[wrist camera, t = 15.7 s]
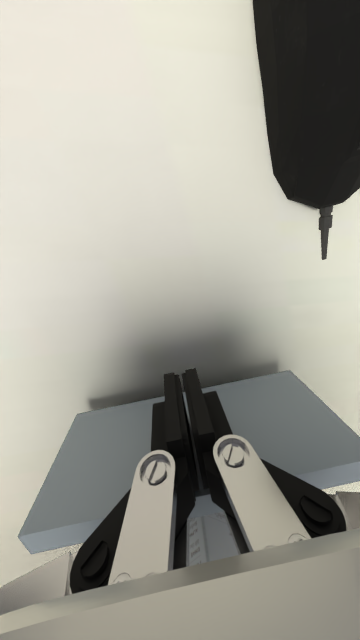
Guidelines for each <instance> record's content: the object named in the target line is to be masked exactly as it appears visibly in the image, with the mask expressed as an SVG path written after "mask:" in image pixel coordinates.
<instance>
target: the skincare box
mask: <svg viewBox="0 0 360 640" xmlns="http://www.w3.org/2000/svg"><path fill="white" fill-rule="evenodd" d="M189 521H190V532H189V566H193V565H197V564H201V563H206V562H210V561H214V560H219V559H223V558H227V557H232V556H236V555H239V554H238V551H237V549H236V546H235V543H234V541H233V538H232V535H231V533H230V530H229V527H228V524H227V522H226V519H225V516H224V513H223V512H218V513H214V514H209V515H205V516H201V517H196V518H192V519H189Z"/></svg>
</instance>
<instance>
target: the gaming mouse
mask: <svg viewBox="0 0 360 640" xmlns="http://www.w3.org/2000/svg"><path fill="white" fill-rule="evenodd" d="M253 8H254V19H255V31H256V43H257V52H258V59H259V66H260V73H261V80H262V87H263V96H264V106H265V115H266V125H267V134H268V141H269V148H270V154H271V161H272V167H273V174H274V176H275V177H276V179H277V181H278V183H279V184H280V186H281V188H282V190H283V192H284V193H285V195H286V197H287V199H289V200H293V201H296V202H300V203H303V204H307V205H311V206H313V207H315V208H318V209H320V214H321V217H320V219H319V230H321V248H322V260H324V259H326V256H327V244H328V232H329V228H331V227H332V216H333V215H331V212H332V209H333V206H332V205H336V204H340V203H343V202H344V201H346V200H347V199H348V198H349V197H350V196H351V195H352V194H353V193H354V192H356V191H357V190H358V189H359V188H360V0H253Z"/></svg>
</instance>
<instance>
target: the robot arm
mask: <svg viewBox="0 0 360 640" xmlns="http://www.w3.org/2000/svg"><path fill="white" fill-rule="evenodd" d="M185 371H186V373H184V374H182V377H183V383H184V389H185V394H186V400H187V406H188V412H189V417H190V423H191V429H192V434H193V439H194V444H195V449H196V454H197V459H198V463H199V468H200V473H201V478H202V483H203V487H204V489H209V490H210V495H211V499H212V502H213V503H215V504H216V505H217V506H219V507H220V508H221V509H223V513H224V516H225V519H226V522H227V524H228V527H229V530H230V533H231V535H232V538H233V541H234V543H235V546H236V549H237V551H238V554H239V555H236V556H232V557H227V558H223V559H219V560H214V561H210V562H206V563H201V564H197V565H193V566H189V532H190V521H189V515H190V513H191V512H192V510H193V508H194V507H195V501H196V496H195V491H200V489H199V483H198V477H197V471H196V465H195V459H194V453H193V447H192V440H191V434H190V428H189V422H188V417H187V412H186V407H185V402H184V397H183V393H182V388H181V383H180V378H179V375H175V374H174V373H170V374H165V375H164V394H165V401H164V402H159V403H154V404H153V407H152V432H151V452H150V453H148V454H147V455H145V456H144V457H143V458H142V459H141V461H140V462H139V463H138V466H137V468H136V471H135V475H134V479H133V484H132V487H131V488H130V490H129V491H128V492H127V493H126V494H125V495H124V497H123V498H122V499H121V500H120V501H119V502H118V504H117V505H116V506H115V507H114V508H113V509H112V511H111V512H110V513H109V514H108V515H107V516H106V518H105V519H104V520H103V521H102V522H101V523H100V525H99V526H98V527H97V528H96V529H95V530H94V532H93V533H92V534H91V535H90V536H89V537H88V539H87V540H86V541H85V542H84V544H83V545H82V546H81V548H80V549H79V551H77V552H75V553H73V554H71V553H70V552H68V553H66V554H64V555H62V556H60V557H58V558H56V559H54V560H52V561H50V562H48V563H46V564H44V565H43V566H41V567H39V568H37V569H35V570H33V571H31V572H29V573H27V574H25V575H23V576H21V577H19V578H17V579H15V580H13V581H11V582H10V583H8V584H6V585H4V586H3V587H1V588H0V640H360V493H359V492H338V491H336V495H331V494H326V493H325V492H323V491H322V490H320V489H319V488H317V487H315V486H313V485H311V484H309V483H307V482H305V481H303V480H301V479H299V478H297V477H296V476H294V475H292V474H290V473H288V472H286V471H284V470H282V469H280V468H278V467H276V466H274V465H272V464H271V463H269V462H267V461H265V460H263V459H261V458H259V457H258V455H257V453H256V452H255V450H254V449H253V447H252V446H251V444H250V443H249V442H248V441H247V440H246V439H244V438H243V437H240V436H238V435H233V433H232V430H231V428H230V425H229V423H228V420H227V417H226V415H225V412H224V410H223V407H222V405H221V402H220V399H219V397H218V394H217V392H216V391H212V392H207V393H203V392H202V389H201V385H200V382H199V379H198V375H197V372H196V369H195V368H194V369H189V370H185Z"/></svg>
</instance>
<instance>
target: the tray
mask: <svg viewBox="0 0 360 640" xmlns="http://www.w3.org/2000/svg"><path fill="white" fill-rule="evenodd" d="M201 389H202V392H203V393H207V392H212V391H216V392H217V394H218V397H219V399H220V402H221V405H222V407H223V410H224V412H225V415H226V417H227V420H228V423H229V425H230V428H231V430H232V433H233V435H238V436H240V437H243V438H244V439H246V440H247V441H248V442H249V443H250V444H251V446H252V447H253V449H254V450H255V452H256V453H257V455H258V457H259V458H261V459H263V460H265V461H267V462H269V463H271V464H272V465H274V466H276V467H278V468H280V469H282V470H284V471H286V472H288V473H290V474H292V475H294V476H296V477H297V478H299V479H301V480H303V481H305V482H307V483H309V484H311V485H313V486H315V487H317V488H319V489H320V490H321V489H326V488H330V487H335V486H339V485H344V484H348V483H353V482H357V481H360V437H359V436H358V435H357V434H356V433H355V432H354V431H353V430H352V429H351V428H350V427H349V426H348V425H346V424H345V423H344V422H343V421H342V420H341V419H340V418H339V417H338V416H337V415H336V414H335V413H334V412H333V411H332V410H331V409H330V408H329V407H328V406H327V405H326V404H325V403H324V402H323V401H322V400H320V399H319V398H318V397H317V396H316V395H315V394H314V393H313V392H312V391H311V390H310V389H309V388H308V387H307V386H306V385H305V384H304V383H303V382H302V381H301V380H300V379H299V378H298V377H297V376H295V375H294V374H293V373H292V372H291V371H290V370H289V371H284V372H279V373H274V374H269V375H265V376H260V377H255V378H250V379H245V380H240V381H235V382H230V383H226V384H221V385H216V386H211V387H206V388H201ZM182 393H183V397H184V402H185V407H186V412H187V417H188V422H189V428H190V434H191V440H192V447H193V453H194V459H195V465H196V471H197V477H198V483H199V489H200V491H195V496H196V501H195V507H194V508H193V510H192V512H191V513H190V515H189V519H192V518H196V517H201V516H205V515H209V514H214V513H218V512H223V509H221V508H220V507H219V506H217V505H216V504H215V503H213V502H212V499H211V495H210V490H209V489H204V487H203V483H202V478H201V473H200V468H199V463H198V459H197V454H196V449H195V444H194V439H193V434H192V429H191V423H190V417H189V412H188V406H187V400H186V394H185V392H182ZM164 401H165V396H162V397H158V398H153V399H148V400H143V401H138V402H133V403H128V404H124V405H119V406H114V407H109V408H104V409H99V410H94V411H89V412H85V413H80V414H77V415H76V417H75V419H74V421H73V423H72V425H71V428H70V430H69V432H68V434H67V436H66V438H65V440H64V442H63V444H62V446H61V448H60V450H59V452H58V454H57V456H56V458H55V461H54V463H53V465H52V467H51V469H50V471H49V473H48V475H47V477H46V479H45V481H44V483H43V485H42V487H41V489H40V492H39V494H38V496H37V498H36V500H35V502H34V504H33V506H32V508H31V510H30V512H29V514H28V516H27V518H26V520H25V522H24V525H23V527H22V529H21V531H20V533H19V535H18V538H19V539H20V541H21V542H22V543H23V545H24V546H25V547H26V548H27V550H28V551H29V552H30V554H35V553H39V552H44V551H48V550H53V549H57V548H62V547H66V546H71V545H75V544H80V543H84V542H85V541H86V540H87V539H88V537H89V536H90V535H91V534H92V533H93V532H94V530H95V529H96V528H97V527H98V526H99V525H100V523H101V522H102V521H103V520H104V519H105V518H106V516H107V515H108V514H109V513H110V512H111V511H112V509H113V508H114V507H115V506H116V505H117V504H118V502H119V501H120V500H121V499H122V498H123V497H124V495H125V494H126V493H127V492H128V491H129V490H130V488H131V487H132V484H133V479H134V475H135V471H136V468H137V466H138V463H139V462H140V461H141V459H142V458H143V457H144V456H145V455H147V454H148V453H150V452H151V432H152V407H153V404H154V403H159V402H164Z"/></svg>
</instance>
